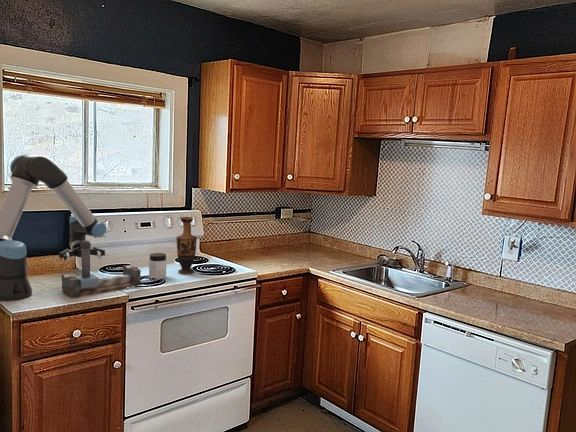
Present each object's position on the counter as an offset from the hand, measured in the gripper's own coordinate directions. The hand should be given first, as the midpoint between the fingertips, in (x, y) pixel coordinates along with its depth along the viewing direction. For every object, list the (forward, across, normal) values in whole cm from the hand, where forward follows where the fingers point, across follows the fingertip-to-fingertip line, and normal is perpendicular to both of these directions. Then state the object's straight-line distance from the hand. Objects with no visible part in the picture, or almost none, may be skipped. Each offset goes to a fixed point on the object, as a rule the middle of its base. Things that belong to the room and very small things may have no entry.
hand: (84, 257), depth 227 cm
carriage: (+8, 0, -11) cm, 14 cm away
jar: (-6, -35, -14) cm, 39 cm away
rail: (+6, -7, -14) cm, 17 cm away
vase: (-10, -52, -14) cm, 55 cm away
